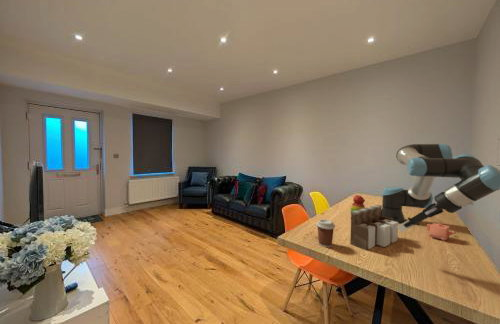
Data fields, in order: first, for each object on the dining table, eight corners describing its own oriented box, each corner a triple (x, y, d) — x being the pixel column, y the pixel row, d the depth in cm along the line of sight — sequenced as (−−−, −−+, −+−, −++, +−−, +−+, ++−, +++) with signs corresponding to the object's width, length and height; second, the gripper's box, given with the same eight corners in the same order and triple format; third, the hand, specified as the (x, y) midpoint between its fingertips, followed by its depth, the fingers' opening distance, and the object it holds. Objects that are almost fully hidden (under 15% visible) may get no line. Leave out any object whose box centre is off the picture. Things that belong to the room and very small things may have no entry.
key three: (362, 241, 108) (363, 222, 107) (374, 246, 103) (375, 226, 102) (356, 244, 104) (357, 225, 104) (368, 249, 99) (369, 228, 99)
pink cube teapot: (454, 244, 106) (454, 228, 105) (424, 236, 115) (425, 222, 115) (457, 240, 110) (457, 225, 110) (428, 233, 120) (429, 220, 120)
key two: (377, 240, 110) (377, 221, 109) (389, 244, 105) (390, 224, 104) (371, 242, 107) (372, 223, 106) (384, 247, 102) (384, 227, 101)
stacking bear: (368, 223, 138) (369, 197, 137) (352, 222, 140) (353, 196, 139) (363, 218, 148) (364, 194, 147) (348, 217, 150) (349, 193, 149)
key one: (385, 236, 115) (385, 218, 114) (397, 240, 110) (398, 221, 109) (380, 238, 112) (380, 220, 111) (392, 242, 106) (393, 223, 106)
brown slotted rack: (376, 233, 120) (377, 204, 120) (392, 237, 113) (393, 207, 113) (350, 243, 105) (350, 211, 105) (366, 250, 98) (367, 215, 98)
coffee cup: (330, 240, 110) (330, 218, 109) (337, 248, 101) (338, 224, 100) (313, 240, 109) (313, 218, 109) (319, 248, 100) (320, 224, 100)
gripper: (457, 210, 70) (399, 240, 84) (467, 205, 77) (412, 233, 91) (437, 192, 74) (386, 224, 89) (449, 189, 81) (399, 219, 96)
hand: (399, 229), depth 90 cm, fingers closed
